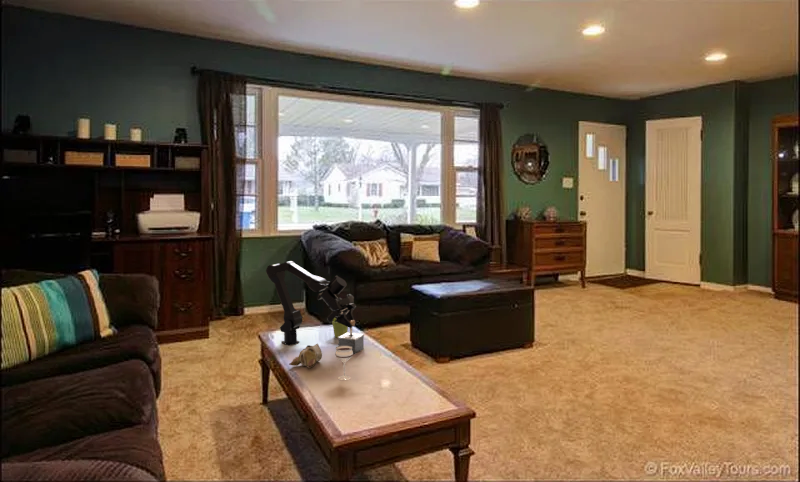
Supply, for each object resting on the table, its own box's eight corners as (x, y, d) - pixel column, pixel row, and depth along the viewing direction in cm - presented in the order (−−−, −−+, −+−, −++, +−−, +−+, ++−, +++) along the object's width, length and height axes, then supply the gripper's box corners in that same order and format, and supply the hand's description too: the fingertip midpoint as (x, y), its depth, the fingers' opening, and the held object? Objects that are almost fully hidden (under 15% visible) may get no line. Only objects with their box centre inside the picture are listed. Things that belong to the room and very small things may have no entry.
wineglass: (353, 374, 202) (353, 345, 201) (352, 381, 195) (352, 350, 194) (336, 374, 202) (336, 345, 201) (334, 381, 195) (334, 350, 194)
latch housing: (338, 352, 231) (337, 337, 230) (349, 345, 240) (349, 331, 240) (355, 354, 227) (355, 339, 227) (366, 347, 237) (366, 333, 237)
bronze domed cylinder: (345, 340, 232) (345, 321, 231) (349, 338, 235) (349, 319, 234) (352, 341, 230) (352, 321, 229) (356, 339, 233) (356, 319, 233)
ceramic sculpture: (328, 341, 218) (308, 353, 204) (329, 360, 219) (310, 373, 205) (307, 338, 222) (286, 350, 208) (308, 357, 223) (288, 370, 209)
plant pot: (348, 339, 251) (348, 322, 250) (329, 339, 251) (329, 322, 250) (351, 334, 260) (350, 317, 260) (332, 334, 261) (332, 317, 260)
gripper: (332, 293, 223) (355, 320, 220) (352, 285, 240) (373, 310, 237) (317, 309, 227) (339, 335, 224) (338, 301, 244) (358, 325, 241)
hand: (353, 326), depth 231 cm, fingers closed on bronze domed cylinder, 4 cm apart
